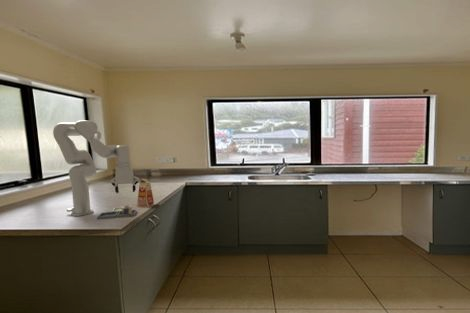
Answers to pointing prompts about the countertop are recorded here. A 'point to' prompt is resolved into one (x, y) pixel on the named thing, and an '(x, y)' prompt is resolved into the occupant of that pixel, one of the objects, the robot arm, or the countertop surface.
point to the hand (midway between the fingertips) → (125, 192)
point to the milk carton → (145, 194)
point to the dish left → (108, 215)
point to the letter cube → (127, 209)
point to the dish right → (127, 214)
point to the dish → (117, 209)
